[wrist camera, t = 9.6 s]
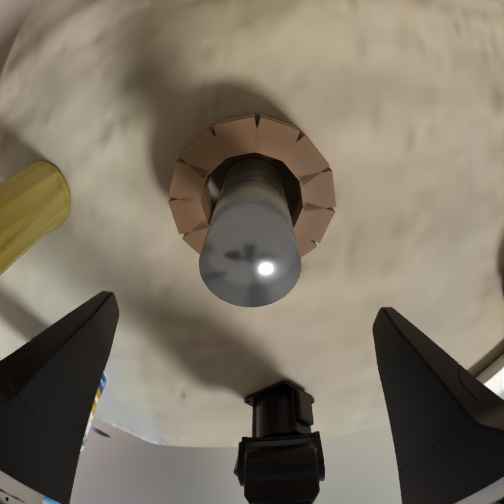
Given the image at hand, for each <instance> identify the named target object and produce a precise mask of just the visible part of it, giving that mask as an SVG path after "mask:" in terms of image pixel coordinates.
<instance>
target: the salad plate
mask: <svg viewBox="0 0 504 504" xmlns="http://www.w3.org/2000/svg"><path fill="white" fill-rule="evenodd" d="M475 378H476V379H477V380H479V381H480V382H481V383H482V384H484V385H485V386H486V387H488V388H489V389H490V390H492V391H493V392H494V393H495V394H497V395H498V396H499V397H501V398H502V399H503V400H504V353H503V354H502V355H501V356H500V357H499V358H498V359H497V360H496V361H494V362H493V363H492V364H491V365H490V366H489V367H487V368H486V369H485V370H484V371H483V372H482V373H480V374H479V375H478V376H477V377H475Z"/></svg>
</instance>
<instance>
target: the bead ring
mask: <svg viewBox="0 0 504 504" xmlns="http://www.w3.org/2000/svg"><path fill="white" fill-rule="evenodd" d="M253 152H257V153H260V154H263V155H266V156H269V157H272V158H275V159H278V160H281V161H283V163H284V164H285V165H286V166H287V167H288V168H289V169H290V171H291V172H292V173H293V174H294V175H295V178H296V185H297V192H296V195H295V197H294V200H293V202H292V204H291V207H290V209H289V212H290V216H291V220H292V224H293V228H294V233H295V237H296V241H297V245H298V250H299V254H300V258H301V257H303V256H304V255H305V254H307V253H308V252H310V251H311V250H313V249H314V248H315V247H316V244H315V241H316V242H319V243H320V241H321V239H322V237H323V235H324V233H325V231H326V229H327V227H328V225H329V223H330V221H331V219H332V217H333V215H334V213H335V211H334V210H333V208H332V207H336V203H335V193H334V183H333V174H332V170H331V169H330V168H329V167H328V166H330V165H329V164H328V162H327V161H326V160H325V158H324V157H323V156H322V155H321V153H320V152H319V151H318V150H317V148H316V147H315V146H314V145H313V143H312V142H311V141H310V140H309V138H308V137H307V136H306V135H305V134H304V133H303V132H302V131H301V130H300V129H299V128H298V129H297V128H296V127H295V126H294V125H292V124H289V123H286V122H284V121H281V120H278V119H275V118H272V117H269V116H266V115H263V114H260V116H259V119H258V122H256V117H255V113H253V114H248V115H243V116H238V117H234V118H229V119H224V120H220V121H219V122H217V123H216V124H215V123H214V124H213V125H212V126H210V127H209V128H208V129H207V130H206V131H205V132H204V133H202V134H201V135H200V136H199V137H198V138H197V139H196V140H195V141H194V142H193V143H192V144H191V145H190V146H189V147H188V148H187V149H186V150H185V151H184V152H183V153H182V154H181V155H180V158H179V159H178V160H177V161H176V165H175V169H174V173H173V177H172V181H171V186H170V190H169V194H168V196H169V197H172V198H171V199H170V200H169V205H170V208H171V211H172V214H173V217H174V220H175V223H176V226H177V229H178V232H179V234H183V233H185V234H184V236H183V238H182V239H183V240H184V241H185V242H186V243H188V244H189V245H190V246H191V247H192V248H193V249H194V250H195V251H196V252H197V253H199V254H201V251H202V247H203V244H204V241H205V238H206V235H207V232H208V228H209V225H210V222H211V219H212V216H213V213H214V210H215V206H214V205H213V202H212V198H211V194H210V191H209V187H208V183H209V179H210V176H211V172H212V171H213V170H214V169H215V168H216V167H217V166H219V165H220V164H221V163H222V162H223V161H224V160H225V159H226V158H228V157H233V156H238V155H243V154H248V153H253Z"/></svg>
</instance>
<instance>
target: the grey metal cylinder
mask: <svg viewBox="0 0 504 504" xmlns="http://www.w3.org/2000/svg"><path fill="white" fill-rule="evenodd" d="M199 269H200V274H201V277H202V279H203V281H204V283H205V285H206V286H207V287H208V289H209V290H210V291H211V292H212V293H213V294H214V295H216V296H217V297H218V298H220V299H222V300H223V301H226V302H228V303H230V304H233V305H237V306H242V307H259V306H265V305H268V304H271V303H274V302H276V301H278V300H280V299H281V298H283V297H284V296H286V295H287V294H288V293H289V292H290V291H291V290H292V289H293V287H294V286H295V284H296V283H297V281H298V278H299V276H300V272H301V258H300V254H299V250H298V245H297V241H296V237H295V233H294V228H293V224H292V220H291V216H290V212H289V208H288V204H287V200H286V196H285V192H284V188H283V184H282V181H281V177H280V175H279V173H278V171H277V170H276V169H275V168H274V167H273V166H272V165H271V164H269V163H268V162H266V161H263V160H260V159H246V160H243V161H240V162H238V163H237V164H235V165H234V166H233V167H232V168H231V169H230V170H229V171H228V173H227V175H226V177H225V180H224V183H223V186H222V189H221V192H220V195H219V198H218V201H217V204H216V207H215V210H214V213H213V216H212V219H211V222H210V225H209V228H208V232H207V235H206V238H205V241H204V244H203V247H202V251H201V254H200V259H199Z"/></svg>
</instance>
